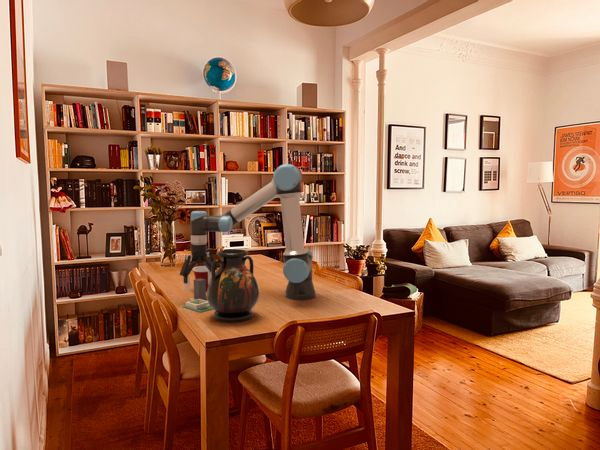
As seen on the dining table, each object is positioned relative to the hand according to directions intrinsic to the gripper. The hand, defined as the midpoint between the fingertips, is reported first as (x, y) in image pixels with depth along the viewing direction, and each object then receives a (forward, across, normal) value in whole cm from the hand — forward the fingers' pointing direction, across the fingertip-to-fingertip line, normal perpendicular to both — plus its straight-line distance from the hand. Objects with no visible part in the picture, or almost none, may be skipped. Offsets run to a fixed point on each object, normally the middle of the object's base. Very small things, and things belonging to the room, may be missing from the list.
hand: (199, 287), depth 214 cm
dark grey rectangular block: (+6, 0, 0) cm, 6 cm away
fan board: (+6, +8, +11) cm, 15 cm away
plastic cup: (+6, -13, -14) cm, 20 cm away
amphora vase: (+6, +8, +33) cm, 35 cm away
